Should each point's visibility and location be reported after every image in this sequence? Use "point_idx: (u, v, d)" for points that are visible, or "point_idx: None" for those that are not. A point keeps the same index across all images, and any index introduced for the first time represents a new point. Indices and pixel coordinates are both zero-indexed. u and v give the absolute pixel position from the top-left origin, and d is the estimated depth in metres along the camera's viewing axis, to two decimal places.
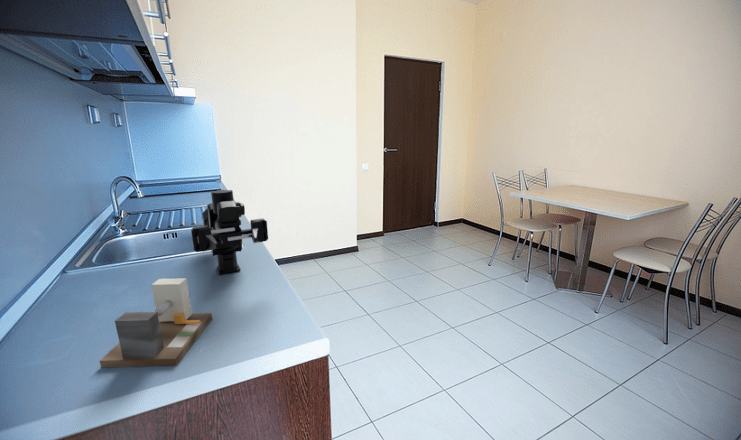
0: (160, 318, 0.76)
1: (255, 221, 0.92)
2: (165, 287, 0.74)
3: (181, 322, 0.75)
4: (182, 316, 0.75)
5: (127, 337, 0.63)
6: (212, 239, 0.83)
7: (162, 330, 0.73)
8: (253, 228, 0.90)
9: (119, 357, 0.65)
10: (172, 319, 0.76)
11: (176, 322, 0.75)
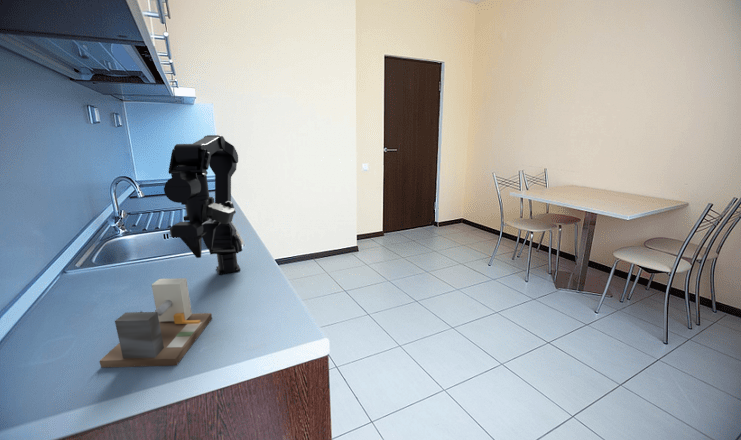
0: (160, 318, 0.76)
1: None
2: (165, 287, 0.74)
3: (181, 322, 0.75)
4: (182, 316, 0.75)
5: (127, 337, 0.63)
6: (200, 248, 0.85)
7: (162, 330, 0.73)
8: (214, 229, 0.92)
9: (119, 357, 0.65)
10: (172, 319, 0.76)
11: (176, 322, 0.75)
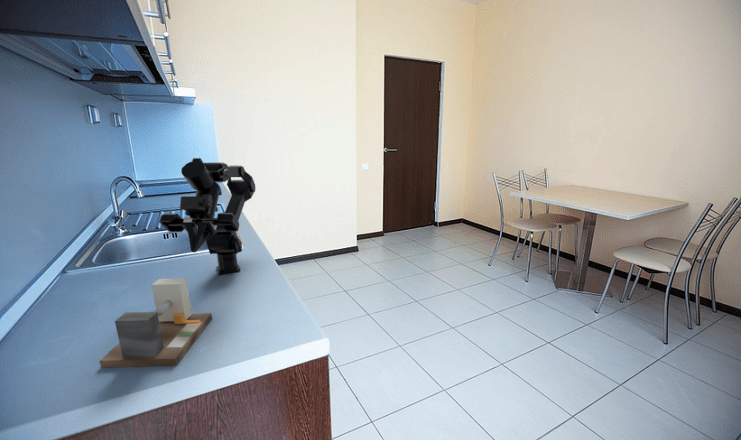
0: (160, 318, 0.76)
1: (219, 220, 0.87)
2: (165, 287, 0.74)
3: (181, 322, 0.75)
4: (182, 316, 0.75)
5: (127, 337, 0.63)
6: (191, 240, 0.86)
7: (162, 330, 0.73)
8: (198, 230, 0.87)
9: (119, 357, 0.65)
10: (172, 319, 0.76)
11: (176, 322, 0.75)
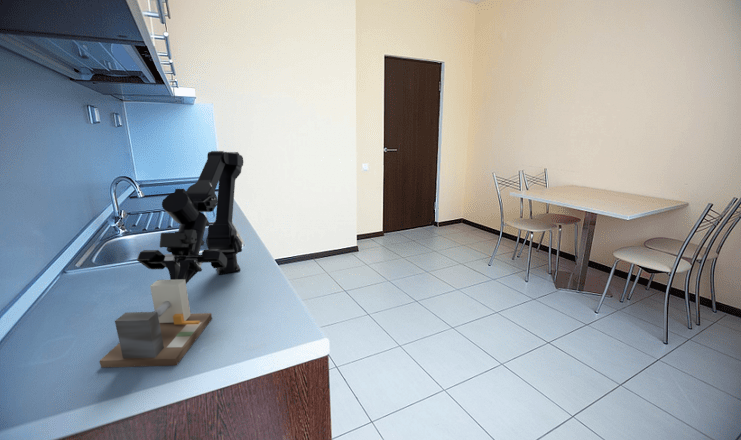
0: (159, 319, 0.75)
1: (204, 258, 0.79)
2: (164, 289, 0.73)
3: (180, 323, 0.74)
4: (181, 317, 0.74)
5: (127, 337, 0.63)
6: None
7: (162, 330, 0.73)
8: (181, 269, 0.79)
9: (119, 357, 0.65)
10: (171, 320, 0.75)
11: (175, 323, 0.74)
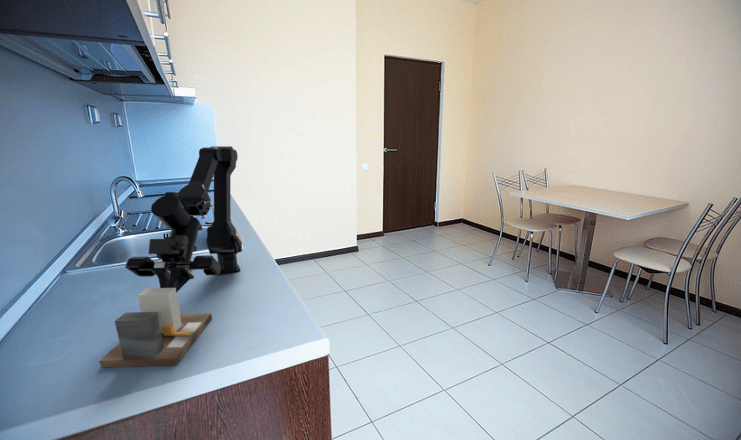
0: None
1: (196, 265, 0.75)
2: (153, 298, 0.69)
3: (170, 334, 0.70)
4: (171, 327, 0.70)
5: (127, 337, 0.63)
6: None
7: None
8: (171, 276, 0.74)
9: (119, 357, 0.65)
10: None
11: (165, 334, 0.70)
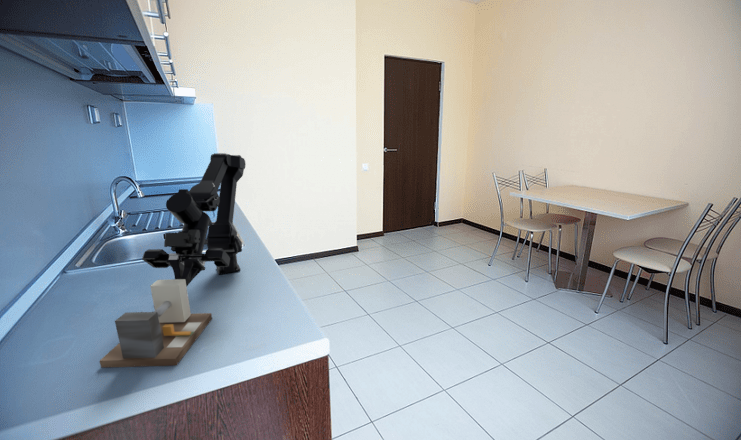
0: (159, 319, 0.75)
1: (208, 257, 0.80)
2: (164, 288, 0.73)
3: (170, 334, 0.70)
4: (171, 327, 0.70)
5: (127, 337, 0.63)
6: None
7: (162, 330, 0.73)
8: (185, 267, 0.80)
9: (119, 357, 0.65)
10: (171, 320, 0.75)
11: (165, 334, 0.70)
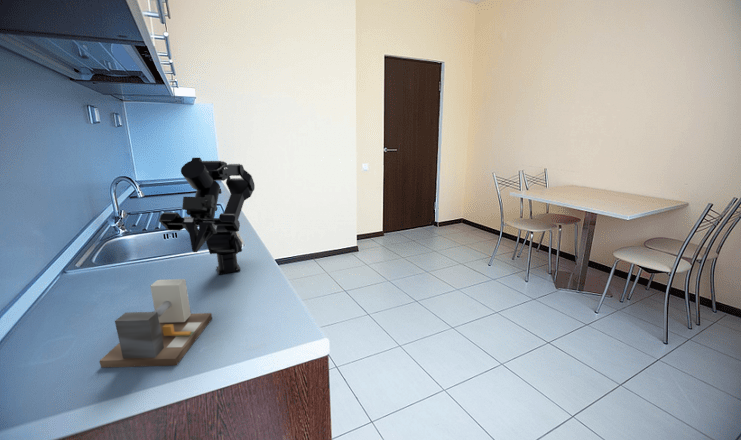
0: (159, 319, 0.75)
1: (222, 221, 0.88)
2: (164, 288, 0.73)
3: (170, 334, 0.70)
4: (171, 327, 0.70)
5: (127, 337, 0.63)
6: (192, 240, 0.87)
7: (162, 330, 0.73)
8: (200, 230, 0.87)
9: (119, 357, 0.65)
10: (171, 320, 0.75)
11: (165, 334, 0.70)
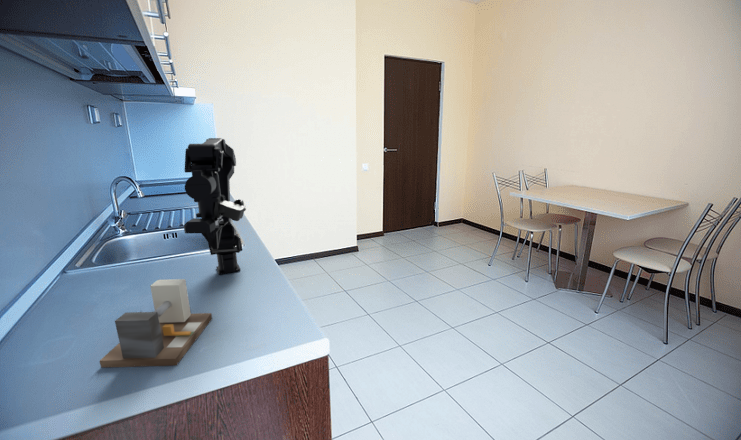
0: (159, 319, 0.75)
1: None
2: (164, 288, 0.73)
3: (170, 334, 0.70)
4: (171, 327, 0.70)
5: (127, 337, 0.63)
6: (217, 240, 0.91)
7: (162, 330, 0.73)
8: (220, 229, 0.92)
9: (119, 357, 0.65)
10: (171, 320, 0.75)
11: (165, 334, 0.70)
